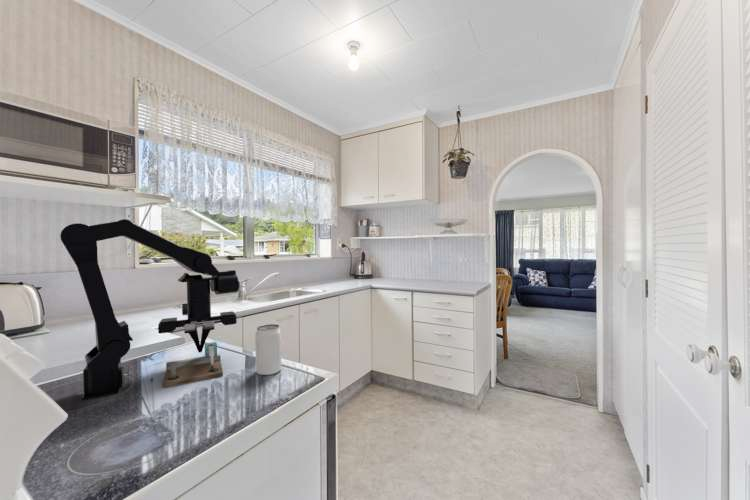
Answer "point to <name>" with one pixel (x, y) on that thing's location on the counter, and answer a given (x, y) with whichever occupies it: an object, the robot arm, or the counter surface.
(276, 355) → the can
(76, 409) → the counter surface
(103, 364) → the robot arm
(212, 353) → the leg
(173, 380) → the plate
